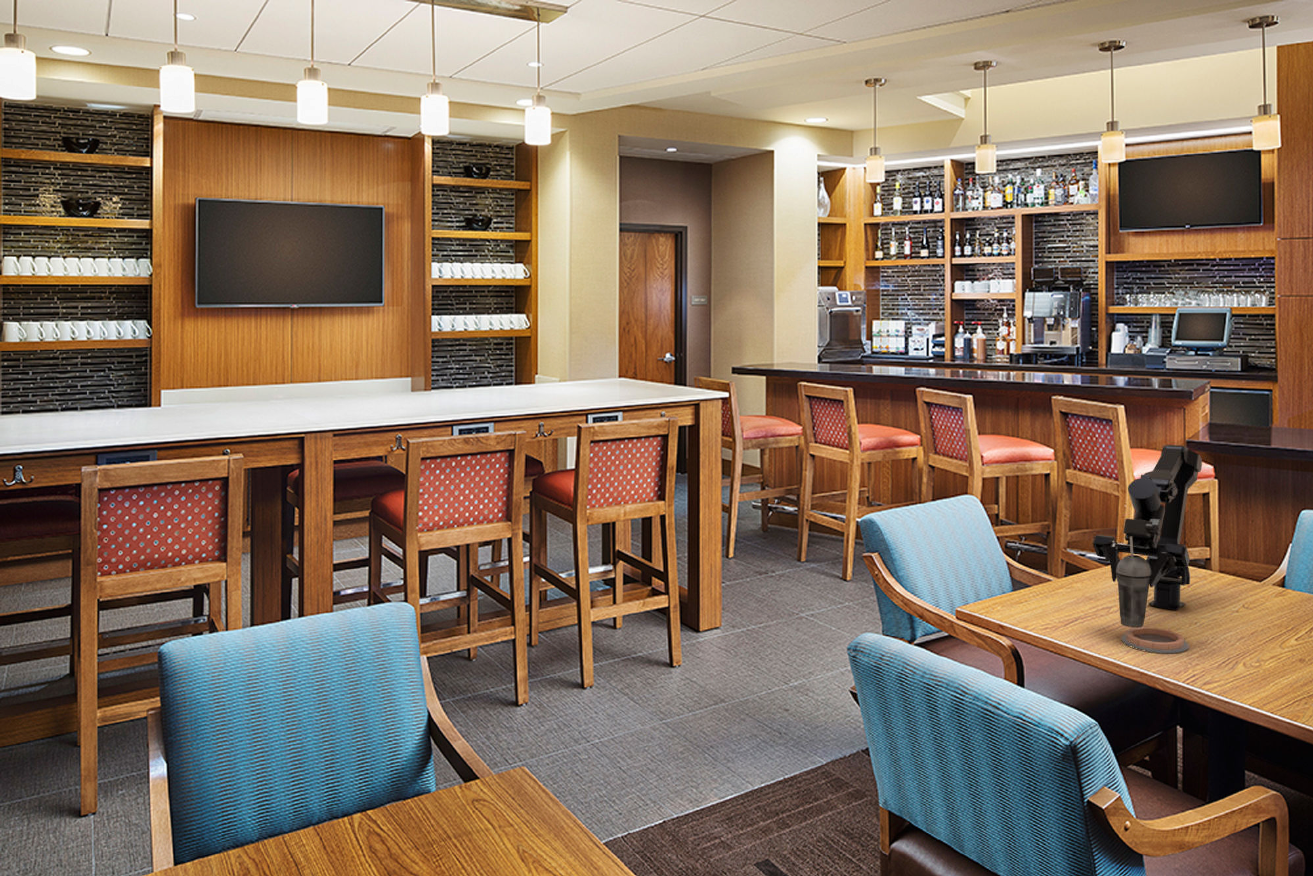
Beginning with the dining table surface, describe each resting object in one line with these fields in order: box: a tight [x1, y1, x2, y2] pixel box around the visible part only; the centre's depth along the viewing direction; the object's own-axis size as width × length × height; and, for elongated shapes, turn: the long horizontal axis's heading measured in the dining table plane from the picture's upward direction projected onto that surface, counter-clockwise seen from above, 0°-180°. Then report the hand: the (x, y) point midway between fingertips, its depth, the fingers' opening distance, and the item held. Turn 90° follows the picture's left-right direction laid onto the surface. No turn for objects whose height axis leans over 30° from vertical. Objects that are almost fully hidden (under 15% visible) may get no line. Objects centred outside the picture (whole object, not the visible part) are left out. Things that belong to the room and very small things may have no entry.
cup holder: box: [1120, 626, 1189, 655], centre depth 207 cm, size 13×13×2 cm
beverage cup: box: [1116, 536, 1152, 628], centre depth 208 cm, size 7×7×20 cm
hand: (1131, 583), depth 207 cm, fingers closed on beverage cup, 7 cm apart
